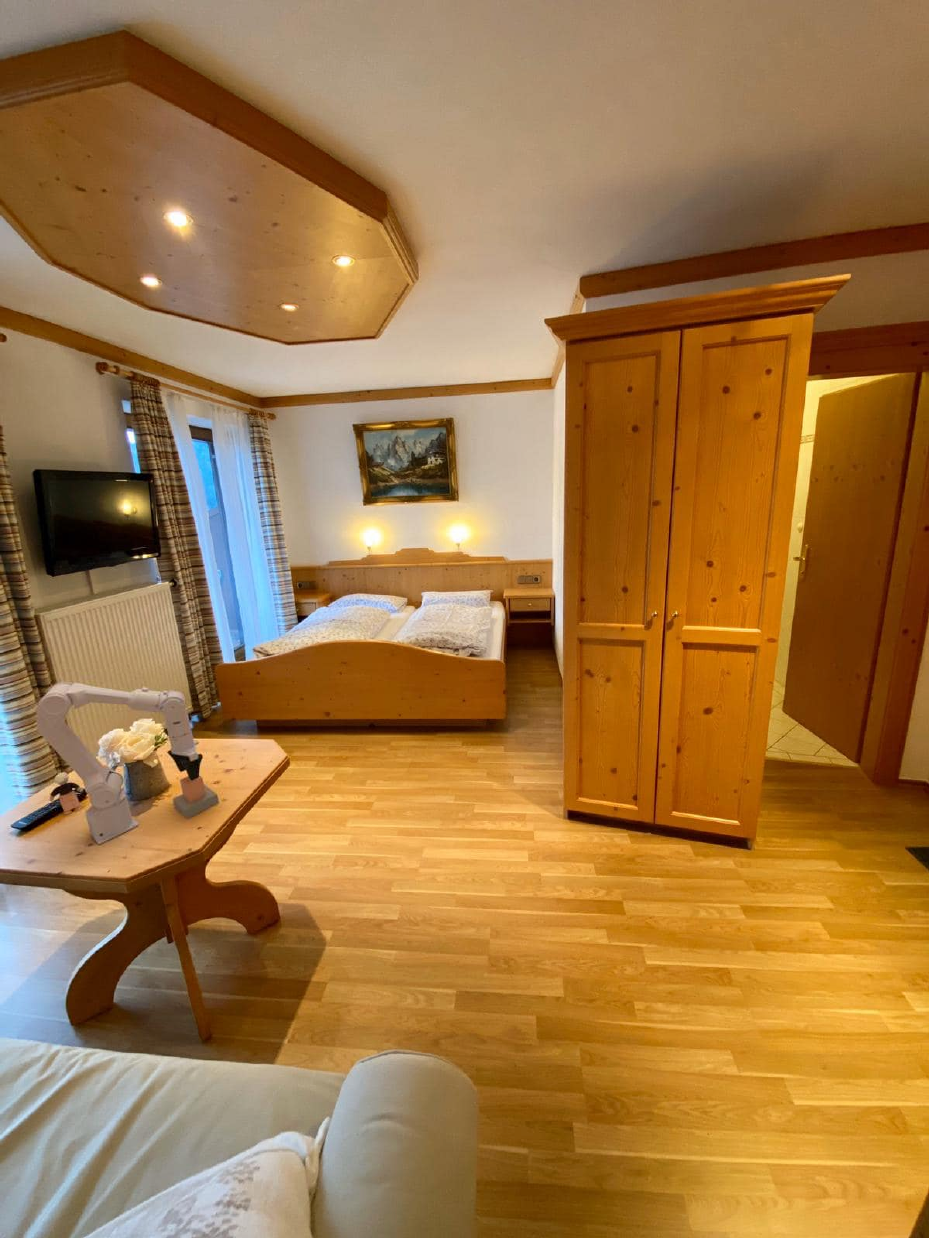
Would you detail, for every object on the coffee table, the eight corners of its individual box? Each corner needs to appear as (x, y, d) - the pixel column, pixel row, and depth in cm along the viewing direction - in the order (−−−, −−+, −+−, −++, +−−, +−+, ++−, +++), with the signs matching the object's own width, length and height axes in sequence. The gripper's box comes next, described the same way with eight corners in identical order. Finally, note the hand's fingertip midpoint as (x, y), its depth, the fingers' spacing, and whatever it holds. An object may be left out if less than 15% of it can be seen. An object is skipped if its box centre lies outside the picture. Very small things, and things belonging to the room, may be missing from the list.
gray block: (187, 818, 136) (185, 809, 135) (174, 807, 141) (172, 798, 141) (219, 802, 143) (217, 794, 142) (205, 792, 148) (204, 784, 147)
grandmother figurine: (85, 801, 147) (74, 765, 144) (88, 806, 144) (77, 769, 141) (53, 815, 141) (41, 777, 138) (56, 820, 139) (44, 782, 135)
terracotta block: (190, 802, 138) (186, 784, 137) (183, 797, 141) (179, 779, 139) (206, 795, 142) (202, 777, 140) (199, 790, 144) (195, 772, 143)
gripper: (205, 733, 135) (214, 775, 138) (184, 720, 144) (193, 760, 147) (178, 744, 129) (188, 787, 133) (158, 730, 138) (168, 771, 142)
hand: (189, 774), depth 140 cm, fingers open, 7 cm apart
